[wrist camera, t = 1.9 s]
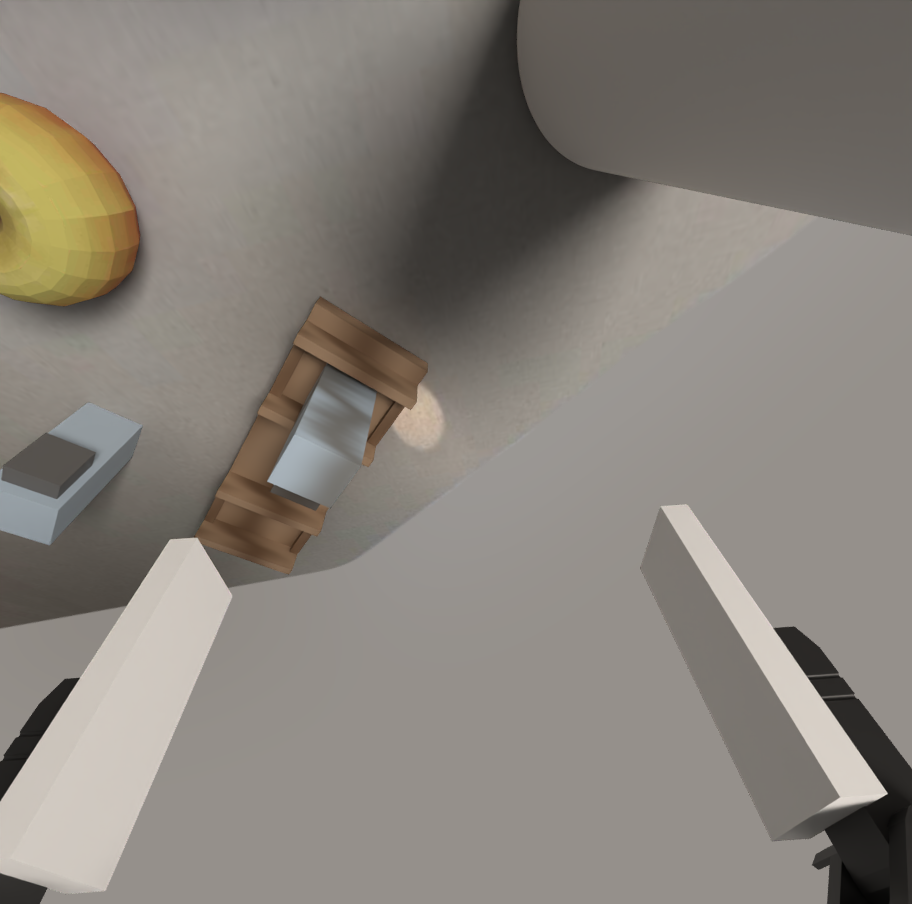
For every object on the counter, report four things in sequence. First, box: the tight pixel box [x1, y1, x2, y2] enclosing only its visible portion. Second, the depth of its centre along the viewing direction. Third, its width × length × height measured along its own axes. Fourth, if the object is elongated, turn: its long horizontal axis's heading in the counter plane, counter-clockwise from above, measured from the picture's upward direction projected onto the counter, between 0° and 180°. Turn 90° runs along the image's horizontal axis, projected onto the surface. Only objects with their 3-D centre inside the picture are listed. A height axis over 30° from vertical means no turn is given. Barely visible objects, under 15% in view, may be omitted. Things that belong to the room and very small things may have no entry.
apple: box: [0, 93, 140, 306], centre depth 23 cm, size 10×10×8 cm
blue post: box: [0, 402, 143, 545], centre depth 31 cm, size 4×5×10 cm
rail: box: [194, 297, 428, 575], centre depth 33 cm, size 9×26×12 cm, turn 145°
